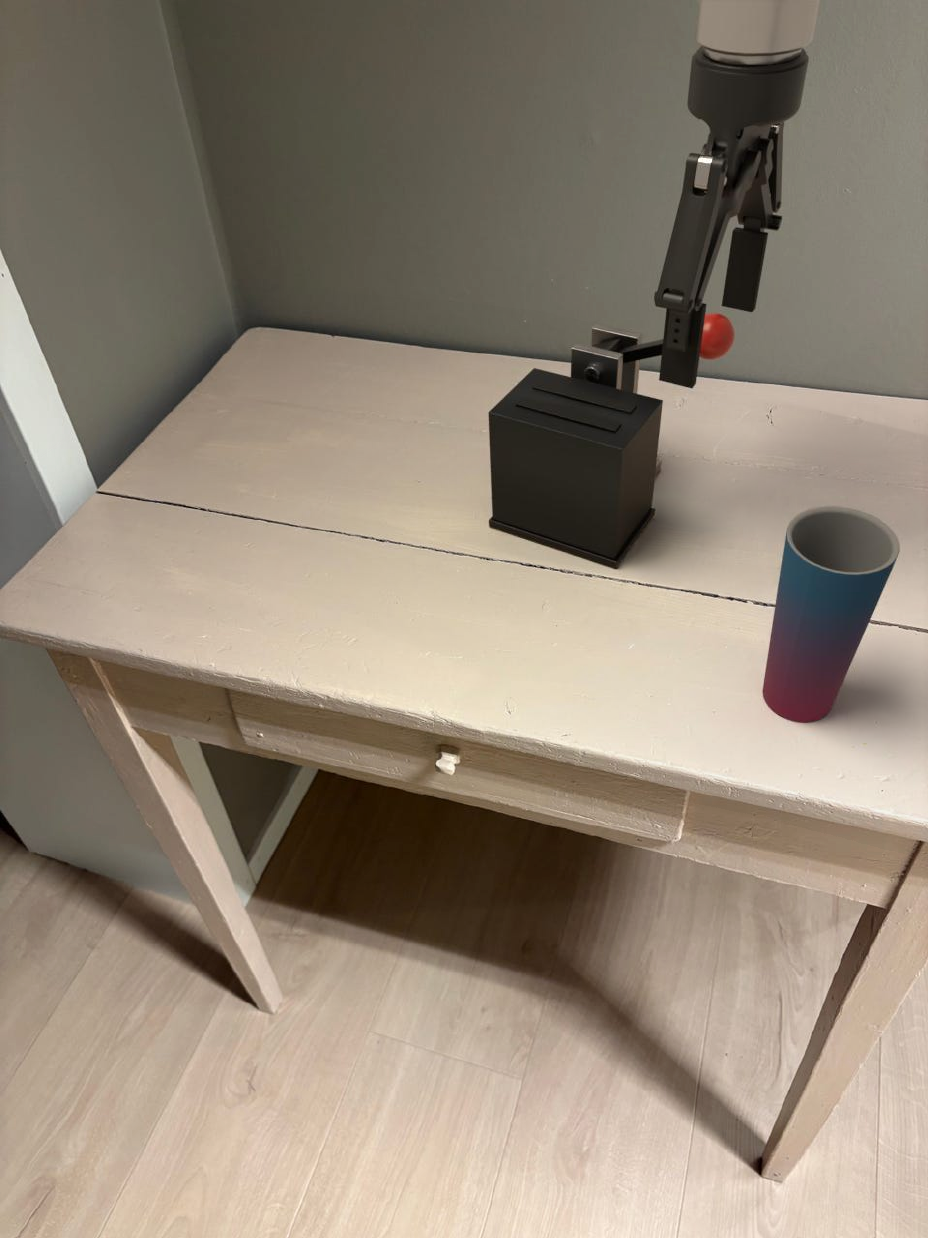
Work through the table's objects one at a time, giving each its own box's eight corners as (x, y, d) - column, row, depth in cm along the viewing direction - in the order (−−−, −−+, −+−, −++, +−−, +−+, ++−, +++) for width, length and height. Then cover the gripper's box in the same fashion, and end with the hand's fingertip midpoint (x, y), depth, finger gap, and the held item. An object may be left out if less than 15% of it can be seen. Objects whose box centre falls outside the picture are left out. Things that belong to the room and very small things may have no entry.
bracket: (660, 469, 92) (675, 337, 82) (635, 503, 88) (647, 369, 79) (567, 443, 96) (570, 314, 86) (539, 474, 92) (539, 343, 83)
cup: (782, 649, 74) (822, 492, 64) (863, 694, 71) (920, 535, 60) (731, 698, 71) (765, 541, 61) (813, 747, 67) (864, 589, 57)
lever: (746, 342, 78) (733, 300, 76) (730, 362, 76) (717, 320, 74) (608, 371, 87) (594, 334, 85) (590, 390, 85) (576, 352, 83)
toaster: (654, 515, 87) (667, 398, 79) (616, 569, 82) (625, 450, 74) (532, 478, 92) (532, 364, 84) (488, 526, 87) (483, 410, 79)
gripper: (758, -1, 72) (719, 272, 87) (619, 96, 57) (601, 405, 72) (860, 6, 69) (802, 288, 84) (741, 111, 54) (696, 431, 69)
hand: (709, 343), depth 78 cm, fingers open, 13 cm apart
